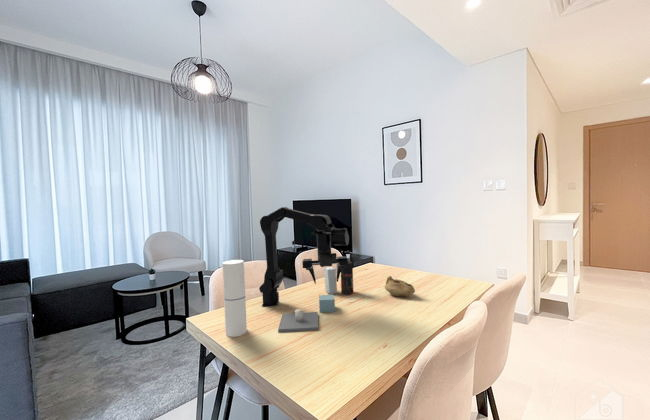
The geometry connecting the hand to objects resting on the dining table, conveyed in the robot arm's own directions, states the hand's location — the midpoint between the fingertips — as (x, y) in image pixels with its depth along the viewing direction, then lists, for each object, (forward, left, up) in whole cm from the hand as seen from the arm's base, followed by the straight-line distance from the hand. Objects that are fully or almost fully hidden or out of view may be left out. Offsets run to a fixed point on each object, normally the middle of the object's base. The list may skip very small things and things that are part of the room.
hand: (326, 282), depth 119 cm
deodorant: (+11, +20, -12) cm, 26 cm away
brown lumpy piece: (+35, +13, -12) cm, 39 cm away
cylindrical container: (-33, -17, -12) cm, 39 cm away
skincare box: (+3, +22, -12) cm, 25 cm away
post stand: (-11, -12, -11) cm, 20 cm away
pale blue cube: (0, 0, -11) cm, 11 cm away
